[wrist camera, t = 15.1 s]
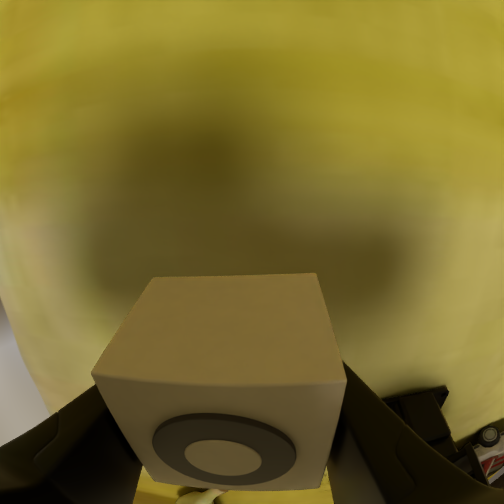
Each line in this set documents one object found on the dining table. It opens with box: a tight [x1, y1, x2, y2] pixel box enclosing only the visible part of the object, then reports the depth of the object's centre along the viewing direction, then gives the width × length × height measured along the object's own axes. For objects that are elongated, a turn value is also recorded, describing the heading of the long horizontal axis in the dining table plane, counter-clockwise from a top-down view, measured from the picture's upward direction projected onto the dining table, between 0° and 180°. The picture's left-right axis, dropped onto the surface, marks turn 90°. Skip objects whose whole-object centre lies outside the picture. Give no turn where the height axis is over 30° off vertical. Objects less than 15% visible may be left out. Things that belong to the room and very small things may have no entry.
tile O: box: [91, 273, 347, 491], centre depth 7 cm, size 4×4×4 cm
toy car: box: [466, 426, 504, 476], centre depth 20 cm, size 8×18×8 cm, turn 106°
